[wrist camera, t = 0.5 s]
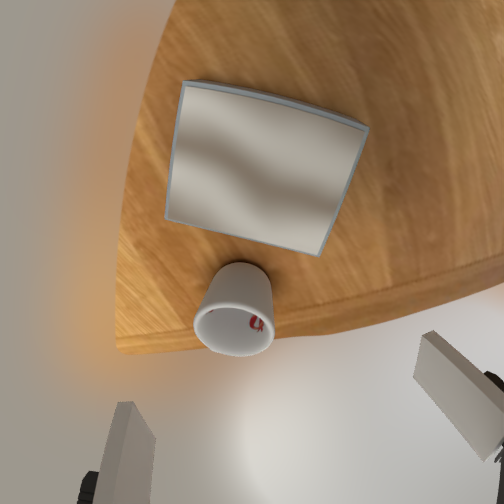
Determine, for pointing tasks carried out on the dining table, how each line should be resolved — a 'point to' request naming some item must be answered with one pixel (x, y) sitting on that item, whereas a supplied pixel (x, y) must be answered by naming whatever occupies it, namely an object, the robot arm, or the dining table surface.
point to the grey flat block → (260, 165)
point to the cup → (237, 311)
